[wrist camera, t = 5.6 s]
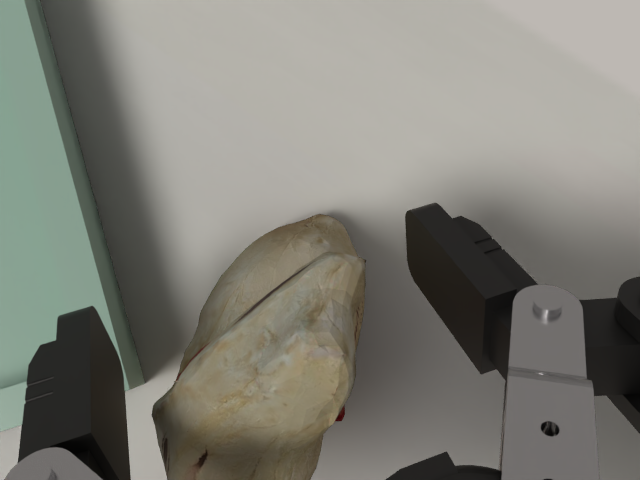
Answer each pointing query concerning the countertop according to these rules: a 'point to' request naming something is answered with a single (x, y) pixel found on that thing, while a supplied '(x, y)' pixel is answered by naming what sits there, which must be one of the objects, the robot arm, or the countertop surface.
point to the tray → (45, 214)
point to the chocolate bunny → (268, 360)
